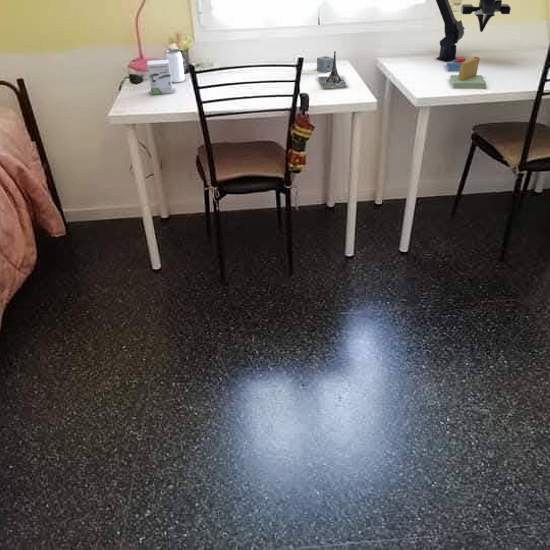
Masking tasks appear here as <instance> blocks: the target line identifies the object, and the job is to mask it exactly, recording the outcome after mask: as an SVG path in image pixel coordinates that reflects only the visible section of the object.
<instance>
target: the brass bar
mask: <svg viewBox="0 0 550 550" xmlns="http://www.w3.org/2000/svg"><path fill="white" fill-rule="evenodd" d="M466 60H467V61H464V62H461V65H460V71H458V75H459V77H458V80H461V81H463V80H465V79H468V78H470V77H473V76H475V75H478V69H479V64H480V57H478V56H474V57H472V58H469V59H466Z"/></svg>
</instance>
